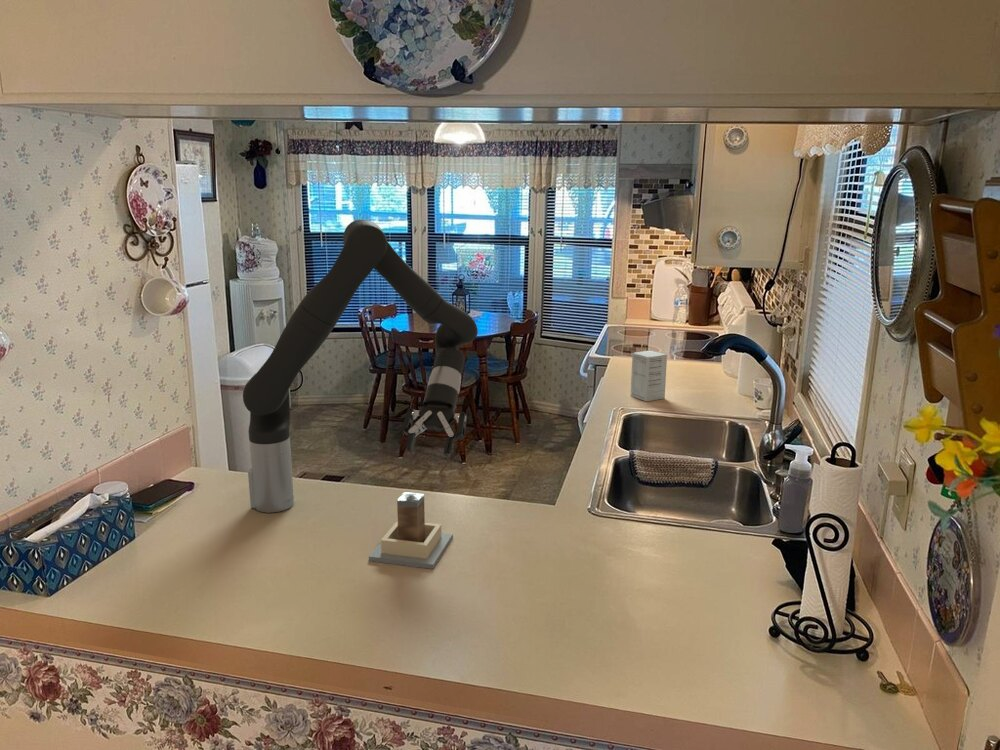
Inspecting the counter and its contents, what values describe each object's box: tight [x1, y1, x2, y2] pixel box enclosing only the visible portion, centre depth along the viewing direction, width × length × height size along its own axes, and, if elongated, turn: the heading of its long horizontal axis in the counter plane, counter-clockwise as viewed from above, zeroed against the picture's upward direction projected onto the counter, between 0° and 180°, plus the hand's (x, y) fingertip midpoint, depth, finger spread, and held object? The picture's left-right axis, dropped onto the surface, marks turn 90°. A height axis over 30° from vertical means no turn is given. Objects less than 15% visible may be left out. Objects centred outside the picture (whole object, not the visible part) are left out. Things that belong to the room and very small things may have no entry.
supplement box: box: [630, 350, 668, 402], centre depth 271 cm, size 10×9×17 cm
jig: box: [368, 519, 454, 570], centre depth 156 cm, size 14×14×4 cm
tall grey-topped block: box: [396, 491, 426, 543], centre depth 155 cm, size 4×4×11 cm
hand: (427, 452), depth 163 cm, fingers open, 8 cm apart
